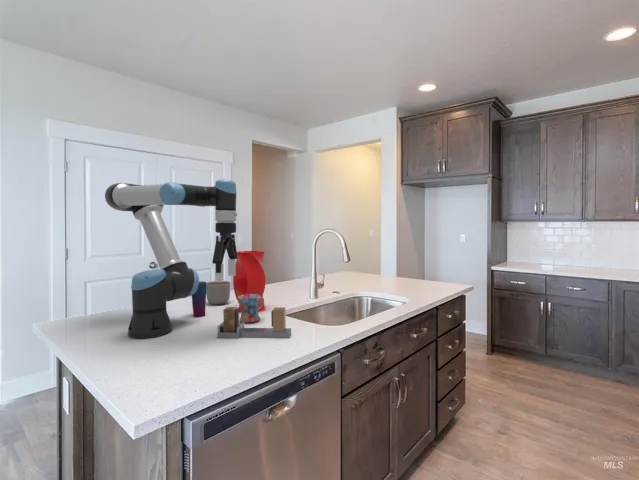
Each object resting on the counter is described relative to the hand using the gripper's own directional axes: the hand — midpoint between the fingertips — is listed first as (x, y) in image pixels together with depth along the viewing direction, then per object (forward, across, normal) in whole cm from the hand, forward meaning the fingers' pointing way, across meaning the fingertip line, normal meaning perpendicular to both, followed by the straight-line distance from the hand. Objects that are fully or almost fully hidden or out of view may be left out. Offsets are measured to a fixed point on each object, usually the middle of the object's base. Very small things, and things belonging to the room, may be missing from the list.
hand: (225, 278), depth 133 cm
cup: (+22, +24, +20) cm, 38 cm away
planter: (+22, +48, +20) cm, 56 cm away
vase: (+21, +36, +1) cm, 42 cm away
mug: (+21, +17, -6) cm, 28 cm away
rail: (+20, -3, -12) cm, 24 cm away
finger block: (+18, -3, -3) cm, 19 cm away
